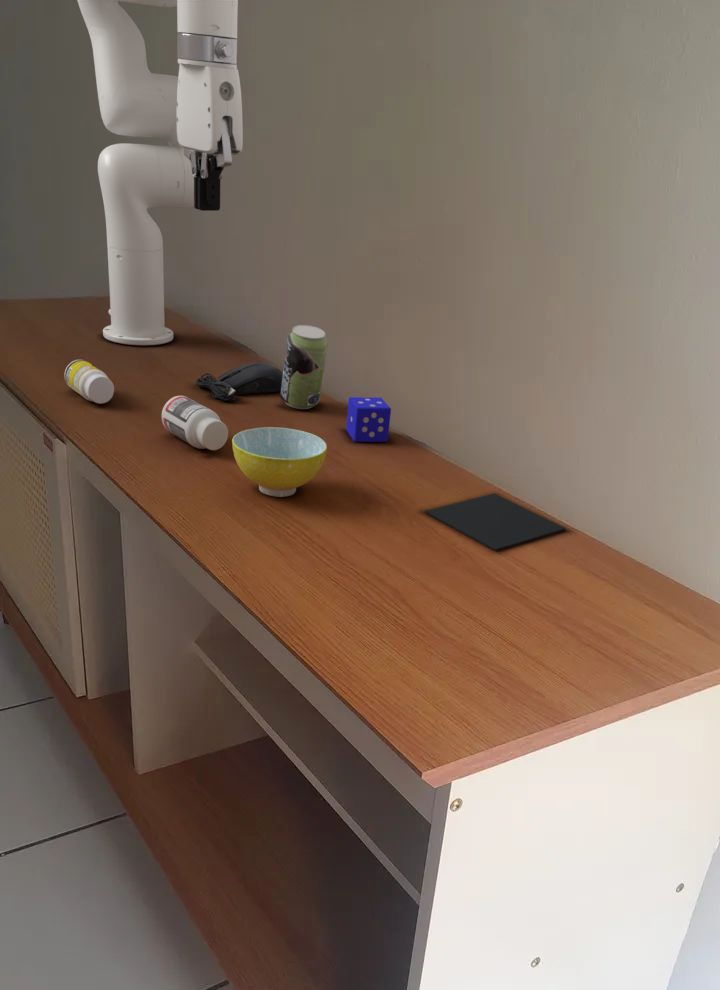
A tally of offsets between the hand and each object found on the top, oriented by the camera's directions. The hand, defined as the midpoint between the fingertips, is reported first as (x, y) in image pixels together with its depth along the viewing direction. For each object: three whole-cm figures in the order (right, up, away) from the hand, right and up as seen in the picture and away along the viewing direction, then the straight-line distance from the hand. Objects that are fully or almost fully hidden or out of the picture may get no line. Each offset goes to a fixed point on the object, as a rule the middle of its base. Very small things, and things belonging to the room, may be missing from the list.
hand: (207, 209), depth 129 cm
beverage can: (+12, -23, +16) cm, 31 cm away
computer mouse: (+3, -20, +21) cm, 29 cm away
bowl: (+11, -41, -14) cm, 45 cm away
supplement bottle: (-21, -19, +12) cm, 31 cm away
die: (+22, -30, +7) cm, 38 cm away
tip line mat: (+37, -45, -16) cm, 61 cm away
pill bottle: (-4, -28, 0) cm, 29 cm away
